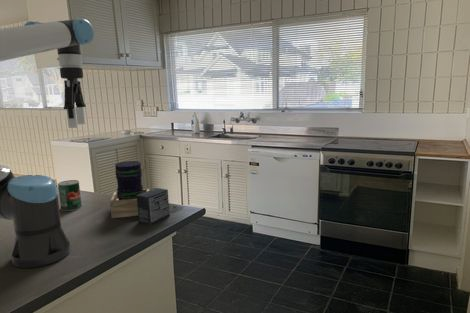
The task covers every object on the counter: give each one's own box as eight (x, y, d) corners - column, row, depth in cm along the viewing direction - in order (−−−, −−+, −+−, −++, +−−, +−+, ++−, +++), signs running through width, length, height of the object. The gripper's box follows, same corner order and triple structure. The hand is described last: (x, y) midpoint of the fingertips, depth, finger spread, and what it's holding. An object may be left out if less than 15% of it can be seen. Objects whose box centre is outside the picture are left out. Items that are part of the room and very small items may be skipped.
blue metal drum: (136, 194, 145) (133, 160, 143) (148, 199, 139) (145, 163, 136) (113, 200, 139) (110, 164, 136) (125, 205, 132) (122, 167, 129)
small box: (157, 212, 136) (156, 187, 134) (170, 215, 132) (168, 189, 130) (137, 221, 127) (135, 194, 125) (150, 225, 124) (148, 196, 122)
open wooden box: (149, 214, 134) (148, 198, 133) (111, 218, 131) (110, 201, 130) (150, 203, 147) (149, 188, 146) (116, 206, 145) (114, 191, 143)
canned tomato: (66, 205, 148) (63, 180, 146) (84, 204, 148) (82, 179, 146) (57, 211, 140) (54, 185, 138) (77, 210, 140) (74, 184, 138)
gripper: (68, 69, 137) (74, 123, 141) (49, 64, 113) (57, 129, 117) (88, 69, 138) (94, 122, 142) (74, 64, 114) (80, 128, 118)
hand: (77, 126), depth 129 cm, fingers open, 13 cm apart
